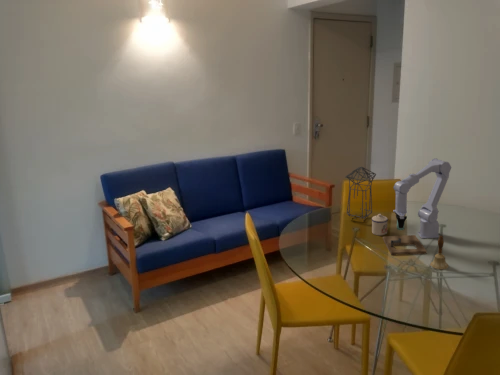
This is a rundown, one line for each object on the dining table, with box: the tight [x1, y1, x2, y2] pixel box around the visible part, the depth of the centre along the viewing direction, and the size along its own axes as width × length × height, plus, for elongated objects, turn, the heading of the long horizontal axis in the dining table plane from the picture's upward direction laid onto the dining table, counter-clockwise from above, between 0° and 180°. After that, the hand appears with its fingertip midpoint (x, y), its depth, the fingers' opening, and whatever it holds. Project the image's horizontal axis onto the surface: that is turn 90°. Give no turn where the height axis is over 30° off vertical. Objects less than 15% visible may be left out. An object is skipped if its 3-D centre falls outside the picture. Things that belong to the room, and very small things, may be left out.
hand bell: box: [429, 235, 449, 270], centre depth 210 cm, size 8×8×16 cm
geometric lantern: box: [345, 166, 377, 220], centre depth 269 cm, size 16×16×35 cm
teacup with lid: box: [371, 213, 389, 236], centre depth 253 cm, size 12×9×12 cm
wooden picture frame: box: [382, 234, 427, 256], centre depth 235 cm, size 18×20×2 cm
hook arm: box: [391, 238, 401, 247], centre depth 232 cm, size 5×1×6 cm, turn 86°
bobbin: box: [396, 220, 406, 231], centre depth 238 cm, size 4×4×5 cm
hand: (400, 226), depth 238 cm, fingers closed on bobbin, 4 cm apart
